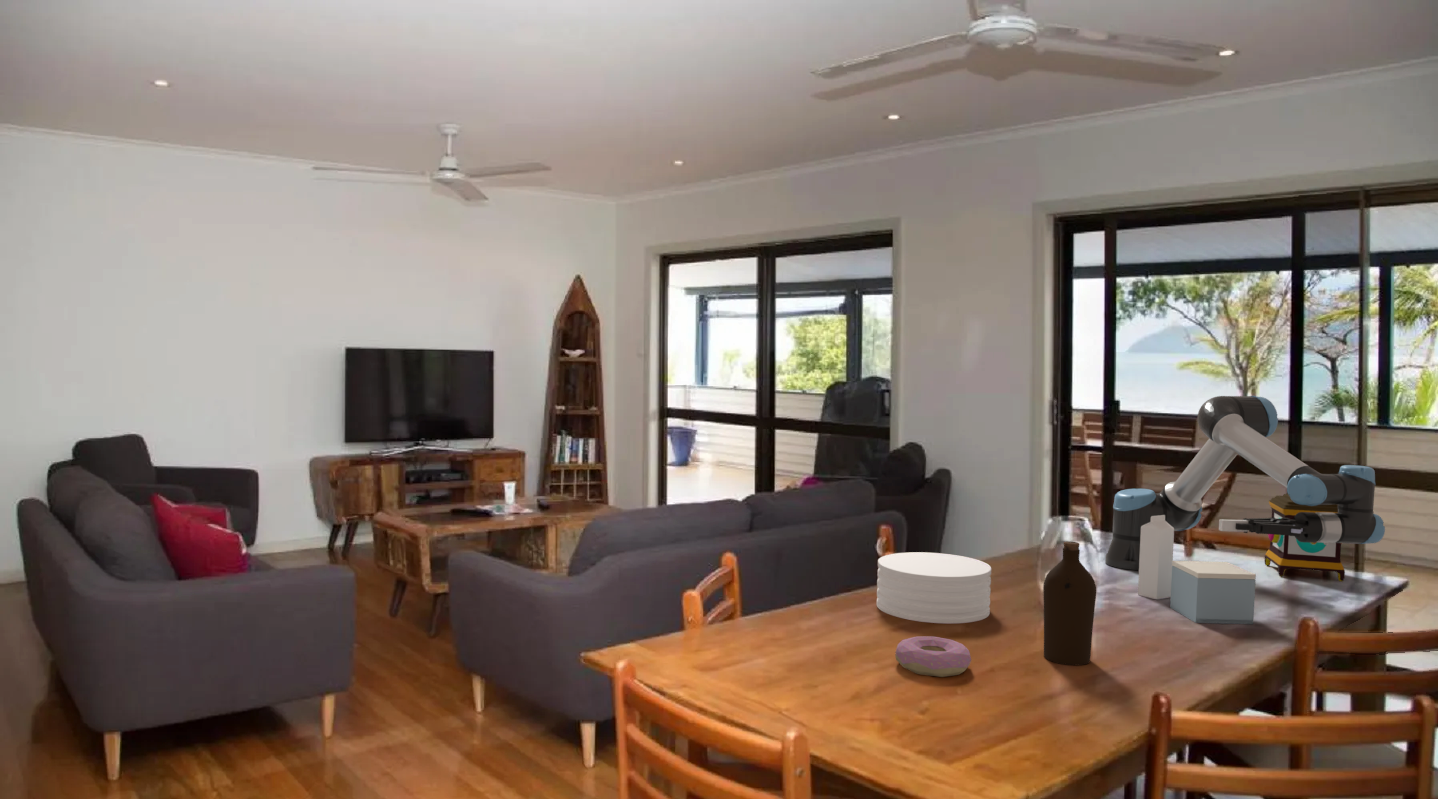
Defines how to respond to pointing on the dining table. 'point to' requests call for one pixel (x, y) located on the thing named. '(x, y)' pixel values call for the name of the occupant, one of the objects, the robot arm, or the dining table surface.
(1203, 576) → the lid
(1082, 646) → the olive oil
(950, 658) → the donut
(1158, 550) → the milk
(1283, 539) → the decorative lantern
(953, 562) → the plate stack
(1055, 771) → the dining table surface
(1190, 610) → the box
